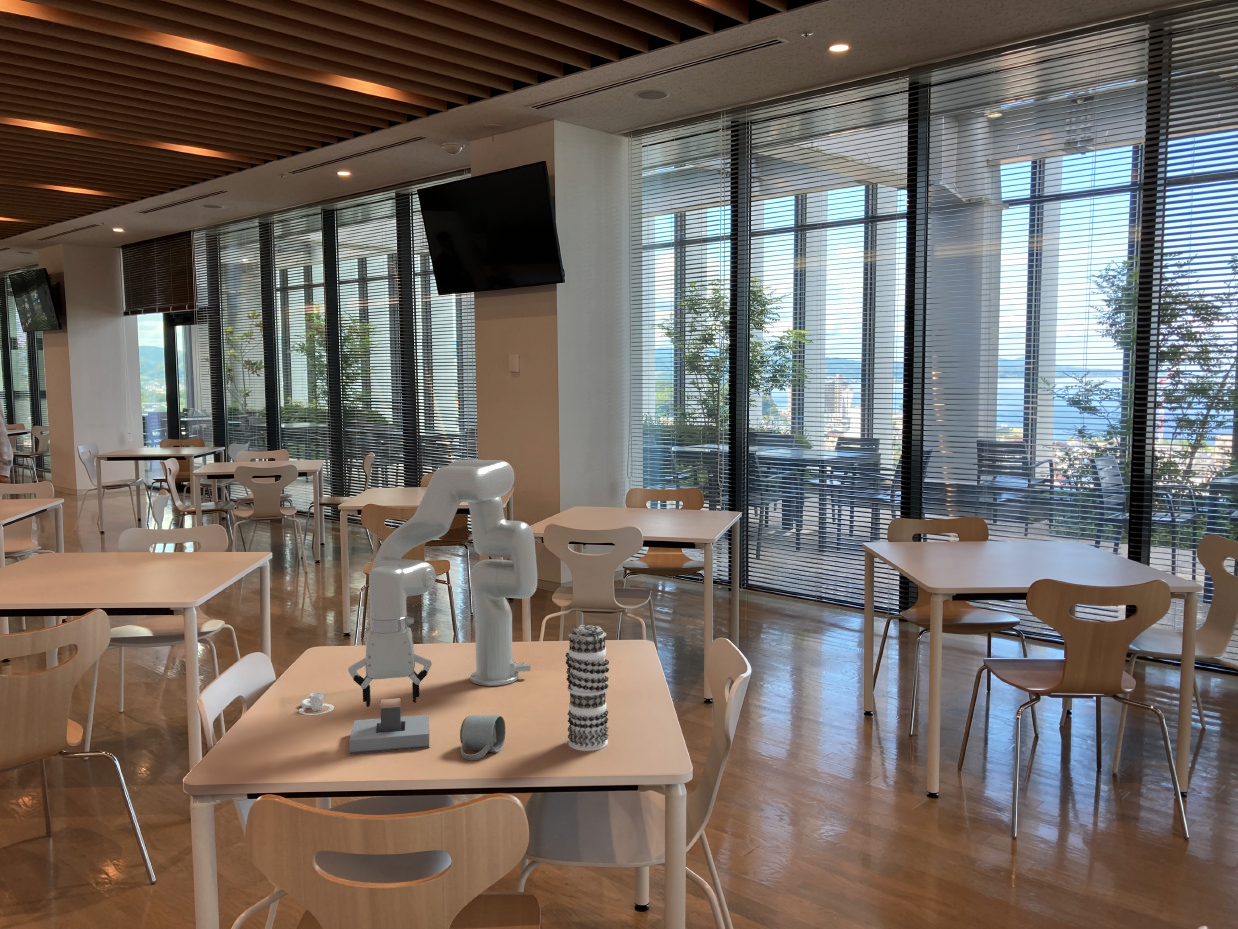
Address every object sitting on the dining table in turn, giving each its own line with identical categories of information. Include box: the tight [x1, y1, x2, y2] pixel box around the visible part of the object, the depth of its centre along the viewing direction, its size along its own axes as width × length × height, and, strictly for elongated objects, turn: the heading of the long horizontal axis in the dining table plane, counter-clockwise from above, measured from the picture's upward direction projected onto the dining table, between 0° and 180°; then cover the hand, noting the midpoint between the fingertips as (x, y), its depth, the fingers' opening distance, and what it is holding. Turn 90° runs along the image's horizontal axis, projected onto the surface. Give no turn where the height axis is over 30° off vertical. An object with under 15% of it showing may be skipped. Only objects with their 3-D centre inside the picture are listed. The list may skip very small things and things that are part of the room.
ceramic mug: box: [459, 714, 507, 761], centre depth 186 cm, size 10×8×7 cm
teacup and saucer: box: [298, 691, 335, 716], centre depth 213 cm, size 9×8×4 cm
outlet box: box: [349, 714, 430, 755], centre depth 193 cm, size 16×12×3 cm
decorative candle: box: [565, 624, 610, 752], centre depth 190 cm, size 9×9×25 cm
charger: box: [380, 697, 402, 733], centre depth 193 cm, size 4×4×8 cm
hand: (391, 702), depth 193 cm, fingers open, 9 cm apart
